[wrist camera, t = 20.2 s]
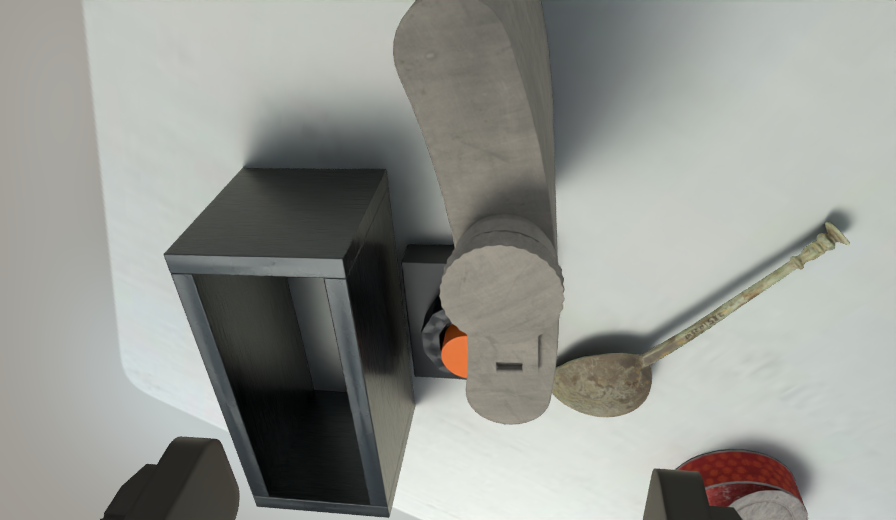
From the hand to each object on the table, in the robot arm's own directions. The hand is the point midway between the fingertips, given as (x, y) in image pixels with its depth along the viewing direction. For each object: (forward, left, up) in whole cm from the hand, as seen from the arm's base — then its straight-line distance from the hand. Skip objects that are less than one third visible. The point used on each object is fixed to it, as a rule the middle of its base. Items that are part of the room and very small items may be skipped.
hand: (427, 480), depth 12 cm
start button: (-2, -17, -23) cm, 29 cm away
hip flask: (+1, -1, -27) cm, 27 cm away
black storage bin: (-12, -17, -27) cm, 34 cm away
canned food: (+18, -35, -27) cm, 48 cm away
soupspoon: (+12, -18, -27) cm, 35 cm away
